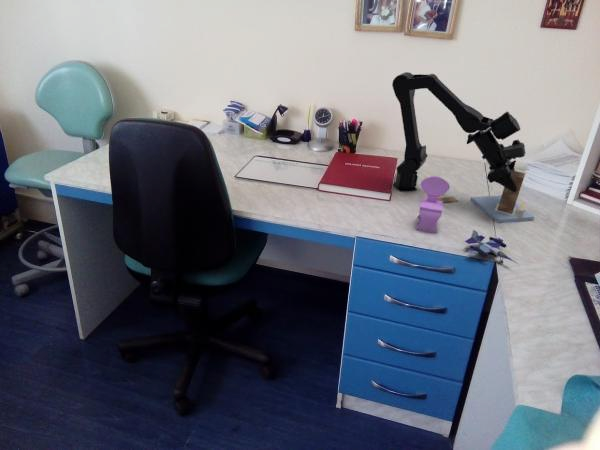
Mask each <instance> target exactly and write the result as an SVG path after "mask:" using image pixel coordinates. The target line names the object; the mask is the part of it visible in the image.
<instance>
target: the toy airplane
mask: <svg viewBox="0 0 600 450" xmlns="http://www.w3.org/2000/svg"><path fill="white" fill-rule="evenodd" d="M485 238H486V237H485V236H483V235H482V234H480V235H479V233H478V231H476V230H475V229H474V230H472V234H471V236H470V238H468V239H466V240H464V243H467V244H468V245H469V244H470V245H469V249H467V250H466V251H467V252H468V253H470V254H472V255H473V254H477V255H480V256H482V257H484V258H486V257H488V256H492V257H495V258H497V257H500V258H499V264H501V265H503V264H504V259H507V260H509V261H512V262H513V263H516V264H518V265H520V266H521V264H520V263H518V262H516V261H515V260H513V259H512V258H510V257H509V256H508V254H507V253H506V252H505V251H503V250H501V249H500V247H501V248H504V249H505V248H508V247H507V246H508V245H507V244H506V243H504V240H503V239H502V238H500V237H493V236H489V238H488V239H489V240H488V241H486V242H484V240H485ZM471 244H477V246H474V245H471Z"/></svg>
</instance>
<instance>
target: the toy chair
mask: <svg viewBox="0 0 600 450" xmlns="http://www.w3.org/2000/svg"><path fill="white" fill-rule="evenodd" d="M450 187H451V186H450V184H449V182H448V181H447V180H446V179H444V178H443V177H440V176H435V175H433V176H429V177H425V178H424V179H422V180H421V182H420V188H421V190H422V191H423V193H425V194H426V195H427V198H422V197H421V198H420V204H419V211H418V212H419V214H418V216H417V218H419V219H420V221H419V224H418V225H417V227H416V228H415V230H419V231H423V232H429V233H435V234H438V229H437V223H438V221H439V220H440V218H441V217H442V215H443V214H442V213H443V205H444V203H443V201H437V198H439V197H441V196H445V194H446V193H447V192H448V191H449V190H450Z"/></svg>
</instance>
